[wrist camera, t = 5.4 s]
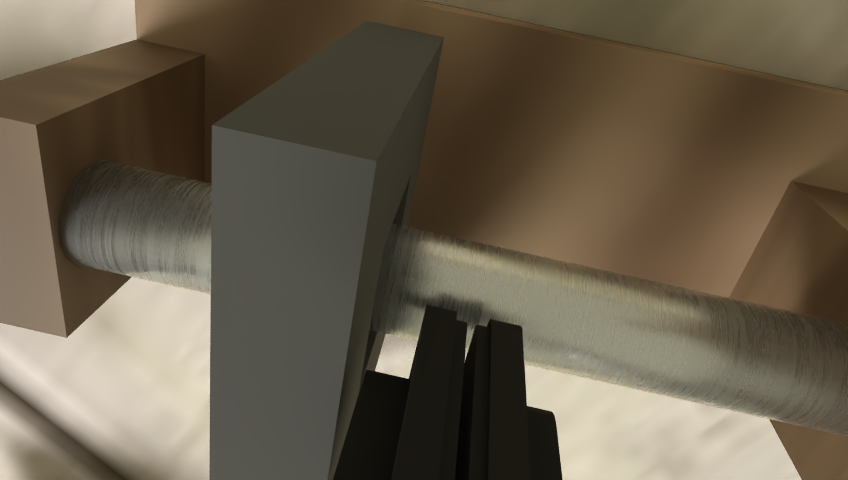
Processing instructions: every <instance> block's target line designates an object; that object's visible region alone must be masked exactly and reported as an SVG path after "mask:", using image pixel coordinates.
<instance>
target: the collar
mask: <svg viewBox="0 0 848 480" xmlns="http://www.w3.org/2000/svg"><path fill="white" fill-rule="evenodd" d="M443 40H444V37H441V36H436V35H432V34H427V33H422V32H418V31H413V30H408V29H404V28H399V27H394V26H390V25H385V24H380V23H376V22H371V21H366V22H364V23H363V24H361V25H360V26H358V27H357V28H355V29H354V30H352V31H351V32H349V33H348V34H346V35H345V36H343V37H342V38H340V39H339V40H337V41H336V42H334V43H333V44H331V45H330V46H328V47H327V48H325V49H324V50H323V51H321V52H320V53H318V54H317V55H315V56H314V57H312V58H311V59H309V60H308V61H306V62H305V63H303V64H302V65H300V66H299V67H297V68H296V69H294V70H293V71H291V72H290V73H288V74H287V75H285V76H284V77H283V78H281V79H280V80H278V81H277V82H275V83H274V84H272V85H271V86H269V87H268V88H266V89H265V90H263V91H262V92H260V93H259V94H257V95H256V96H254V97H253V98H251V99H250V100H248V101H247V102H245V103H244V104H242V105H241V106H240V107H238V108H237V109H235V110H234V111H232V112H231V113H229V114H228V115H226V116H225V117H223V118H222V119H220V120H219V121H217V122H216V123H214V124H213V125H212V191H211V345H210V480H333V477H334V474H335V471H336V467H337V464H338V461H339V457H340V454H341V451H342V447H343V444H344V441H345V438H346V434H347V431H348V428H349V424H350V421H351V418H352V414H353V411H354V408H355V404H356V401H357V398H358V395H359V391H360V388H361V385H362V381H363V378H364V375H365V372H366V370H371V371H375V368H376V365H377V361H378V358H379V354H380V351H381V348H382V344H383V341H384V337H385V334H386V333H382V332H377V331H373V330H369V329H370V323H371V318H372V312H373V306H374V300H375V294H376V289H377V283H378V277H379V271H380V266H381V260H382V254H383V248H384V245H385V242H386V240H387V237H388V234H389V232H390V229H391V226H392V224H397V225H401V226H406V227H408V221H409V216H410V211H411V206H412V201H413V196H414V190H415V185H416V180H417V175H418V170H419V164H420V159H421V154H422V149H423V144H424V138H425V133H426V128H427V123H428V118H429V112H430V107H431V102H432V97H433V92H434V86H435V81H436V76H437V71H438V66H439V60H440V55H441V50H442V45H443Z"/></svg>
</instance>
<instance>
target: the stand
mask: <svg viewBox="0 0 848 480" xmlns="http://www.w3.org/2000/svg"><path fill="white" fill-rule="evenodd" d="M135 12H136V30H137V40H133V41H130V42H127V43H124V44H120V45H117V46H114V47H110V48H107V49H104V50H100V51H97V52H94V53H90V54H87V55H84V56H81V57H77V58H74V59H71V60H67V61H64V62H61V63H57V64H54V65H51V66H47V67H44V68H41V69H38V70H34V71H31V72H28V73H24V74H21V75H18V76H14V77H11V78H8V79H4V80H1V81H0V323H4V324H8V325H13V326H17V327H22V328H26V329H30V330H35V331H39V332H44V333H48V334H53V335H57V336H61V337H66V338H67V337H68V336H69V335H70V334H71V333H72V332H73V331H74V330H76V329H77V328H78V327H79V326H80V325H81V324H82V323H83V322H84V321H85V320H86V319H87V318H88V317H89V316H90V315H92V314H93V313H94V312H95V311H96V310H97V309H98V308H99V307H100V306H101V305H102V304H103V303H104V302H105V301H106V300H108V299H109V298H110V297H111V296H112V295H113V294H114V293H115V292H116V291H117V290H118V289H119V288H120V287H121V286H122V285H124V284H125V283H126V282H127V281H128V280H129V279H130V278H131V276H127V275H122V274H118V273H113V272H109V271H104V270H100V269H95V268H91V267H87V266H82V265H78V264H75V263H73V262H71V261H70V260H69V259H68V258H67V256H66V255H65V253H64V251H63V249H62V246H61V243H60V238H59V218H60V212H61V207H62V204H63V200H64V198H65V195H66V193H67V190H68V188H69V186H70V185H71V183H72V181H73V180H74V178H75V177H76V176H77V174H78V173H79V172H80V171H81V170H82V169H83V168H84V167H86V166H87V165H88V164H90V163H92V162H94V161H98V160H106V161H111V162H115V163H120V164H124V165H129V166H133V167H138V168H143V169H147V170H152V171H156V172H161V173H165V174H170V175H174V176H179V177H183V178H188V179H192V180H197V181H202V182H206V183H211V184H212V125H213V124H214V123H216V122H217V121H219V120H220V119H222V118H223V117H225V116H226V115H228V114H229V113H231V112H232V111H234V110H235V109H237V108H238V107H240V106H241V105H242V104H244V103H245V102H247V101H248V100H250V99H251V98H253V97H254V96H256V95H257V94H259V93H260V92H262V91H263V90H265V89H266V88H268V87H269V86H271V85H272V84H274V83H275V82H277V81H278V80H280V79H281V78H283V77H284V76H285V75H287V74H288V73H290V72H291V71H293V70H294V69H296V68H297V67H299V66H300V65H302V64H303V63H305V62H306V61H308V60H309V59H311V58H312V57H314V56H315V55H317V54H318V53H320V52H321V51H323V50H324V49H325V48H327V47H328V46H330V45H331V44H333V43H334V42H336V41H337V40H339V39H340V38H342V37H343V36H345V35H346V34H348V33H349V32H351V31H352V30H354V29H355V28H357V27H358V26H360V25H361V24H363V23H364V22H366V21H371V22H376V23H380V24H385V25H390V26H394V27H399V28H404V29H408V30H413V31H418V32H422V33H427V34H432V35H436V36H441V37H444V40H443V45H442V50H441V55H440V60H439V66H438V71H437V76H436V81H435V86H434V92H433V97H432V102H431V107H430V112H429V118H428V123H427V128H426V133H425V138H424V144H423V149H422V154H421V159H420V164H419V170H418V175H417V180H416V185H415V190H414V196H413V201H412V206H411V211H410V216H409V221H408V227H411V228H415V229H420V230H424V231H429V232H433V233H438V234H442V235H447V236H451V237H456V238H460V239H465V240H470V241H474V242H479V243H483V244H488V245H492V246H497V247H501V248H506V249H510V250H515V251H520V252H524V253H529V254H533V255H538V256H542V257H547V258H551V259H556V260H560V261H565V262H570V263H574V264H579V265H583V266H588V267H592V268H597V269H601V270H606V271H610V272H615V273H619V274H624V275H629V276H633V277H638V278H642V279H647V280H651V281H656V282H660V283H665V284H669V285H674V286H679V287H683V288H688V289H692V290H697V291H701V292H706V293H710V294H715V295H719V296H724V297H728V298H733V299H738V300H742V301H747V302H751V303H756V304H760V305H765V306H769V307H774V308H778V309H783V310H788V311H792V312H797V313H801V314H806V315H810V316H815V317H819V318H824V319H828V320H833V321H837V322H842V323H847V324H848V91H845V90H840V89H836V88H831V87H826V86H821V85H817V84H812V83H807V82H803V81H798V80H793V79H789V78H784V77H779V76H775V75H770V74H765V73H761V72H756V71H751V70H746V69H742V68H737V67H732V66H728V65H723V64H718V63H714V62H709V61H704V60H700V59H695V58H690V57H685V56H681V55H676V54H671V53H667V52H662V51H657V50H653V49H648V48H643V47H639V46H634V45H629V44H625V43H620V42H615V41H610V40H606V39H601V38H596V37H592V36H587V35H582V34H578V33H573V32H568V31H564V30H559V29H554V28H550V27H545V26H540V25H535V24H531V23H526V22H521V21H517V20H512V19H507V18H503V17H498V16H493V15H489V14H484V13H479V12H475V11H470V10H465V9H460V8H456V7H451V6H446V5H442V4H437V3H432V2H428V1H423V0H135ZM769 420H770V422H771V423H772V425H773V427H774V429H775V431H776V433H777V435H778V436H779V438H780V440H781V442H782V444H783V446H784V447H785V449H786V451H787V453H788V455H789V457H790V458H791V460H792V462H793V464H794V466H795V468H796V469H797V471H798V473H799V475H800V477H801V479H802V480H848V435H838V434H834V433H829V432H825V431H820V430H816V429H811V428H807V427H803V426H798V425H794V424H789V423H785V422H780V421H776V420H771V419H769Z"/></svg>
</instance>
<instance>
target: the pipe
mask: <svg viewBox="0 0 848 480" xmlns="http://www.w3.org/2000/svg"><path fill="white" fill-rule="evenodd" d="M211 191H212V184H211V183H206V182H202V181H197V180H192V179H188V178H183V177H179V176H174V175H170V174H165V173H161V172H156V171H152V170H147V169H143V168H138V167H133V166H129V165H124V164H120V163H115V162H111V161H106V160H98V161H94V162H92V163H90V164H88V165H87V166H86V167H84V168H83V169H82V170H81V171H80V172H79V173H78V174H77V176H76V177H75V178H74V180H73V181H72V183H71V185H70V186H69V188H68V190H67V193H66V195H65V198H64V200H63V204H62V207H61V212H60V218H59V238H60V243H61V246H62V249H63V251H64V253H65V255H66V256H67V258H68V259H69V260H70V261H71V262H73V263H75V264H78V265H82V266H87V267H91V268H95V269H100V270H104V271H109V272H113V273H118V274H122V275H127V276H131V277H136V278H140V279H145V280H149V281H154V282H158V283H163V284H167V285H172V286H176V287H181V288H185V289H189V290H194V291H198V292H203V293H207V294H211ZM426 305H431V306H436V307H440V308H445V309H449V310H453V311H457V320H460V321H464V322H467V337H466V349H465V351H467V352H468V349H469V346H470V343H471V339H472V336H473V332H474V329H475V327H476V325H482V326H486V327H487V324H488V322H489V320H490V319H493V320H498V321H502V322H507V323H511V324H515V325H520V326H521V327H522V331H523V349H524V364H525V365H530V366H534V367H538V368H543V369H547V370H552V371H556V372H561V373H565V374H570V375H574V376H579V377H583V378H588V379H592V380H597V381H601V382H606V383H610V384H615V385H619V386H624V387H628V388H632V389H637V390H641V391H646V392H650V393H655V394H659V395H664V396H668V397H673V398H677V399H682V400H686V401H691V402H695V403H700V404H704V405H709V406H713V407H717V408H722V409H726V410H731V411H735V412H740V413H744V414H749V415H753V416H758V417H762V418H767V419H771V420H776V421H780V422H785V423H789V424H794V425H798V426H803V427H807V428H811V429H816V430H820V431H825V432H829V433H834V434H838V435H848V324H847V323H842V322H837V321H833V320H828V319H824V318H819V317H815V316H810V315H806V314H801V313H797V312H792V311H788V310H783V309H778V308H774V307H769V306H765V305H760V304H756V303H751V302H747V301H742V300H738V299H733V298H728V297H724V296H719V295H715V294H710V293H706V292H701V291H697V290H692V289H688V288H683V287H679V286H674V285H669V284H665V283H660V282H656V281H651V280H647V279H642V278H638V277H633V276H629V275H624V274H619V273H615V272H610V271H606V270H601V269H597V268H592V267H588V266H583V265H579V264H574V263H570V262H565V261H560V260H556V259H551V258H547V257H542V256H538V255H533V254H529V253H524V252H520V251H515V250H510V249H506V248H501V247H497V246H492V245H488V244H483V243H479V242H474V241H470V240H465V239H460V238H456V237H451V236H447V235H442V234H438V233H433V232H429V231H424V230H420V229H415V228H411V227H406V226H401V225H397V224H392V226H391V229H390V232H389V234H388V237H387V240H386V242H385V245H384V248H383V254H382V260H381V266H380V271H379V277H378V283H377V289H376V294H375V300H374V306H373V312H372V318H371V323H370V329H369V330H373V331H377V332H382V333H386V334H391V335H395V336H400V337H404V338H409V339H413V340H418V338H419V334H420V330H421V326H422V322H423V317H424V313H425V309H426Z"/></svg>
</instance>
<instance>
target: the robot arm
mask: <svg viewBox="0 0 848 480" xmlns="http://www.w3.org/2000/svg"><path fill="white" fill-rule="evenodd" d="M466 337H467V322H464V321H460V320H457V311H453V310H449V309H445V308H440V307H436V306H431V305H426V309H425V313H424V317H423V322H422V326H421V330H420V334H419V338H418V343H417V347H416V351H415V355H414V359H413V364H412V368H411V372H410V376H409V379H406V378H401V377H397V376H393V375H388V374H384V373H379V372H375V371H371V370H366V372H365V375H364V378H363V381H362V385H361V388H360V391H359V395H358V398H357V401H356V404H355V408H354V411H353V414H352V418H351V421H350V424H349V428H348V431H347V434H346V438H345V441H344V444H343V447H342V451H341V454H340V457H339V461H338V464H337V467H336V471H335V474H334V477H333V480H562V472H561V463H560V454H559V445H558V436H557V427H556V421H555V416H554V414H553V413H552V412H551V411H547V410H542V409H538V408H533V407H529V406H527V403H526V385H525V367H524V349H523V331H522V327H521V326H520V325H515V324H511V323H507V322H502V321H498V320H493V319H490V320H489V322H488V324H487V327H486V326H482V325H476V327H475V329H474V332H473V336H472V339H471V343H470V346H469V349H468V353H467V356H466V360H465V349H466ZM464 361H465V363H464Z"/></svg>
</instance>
